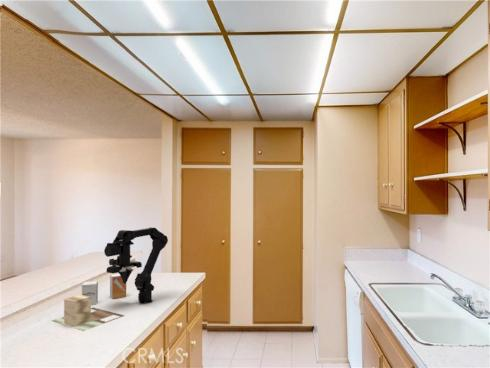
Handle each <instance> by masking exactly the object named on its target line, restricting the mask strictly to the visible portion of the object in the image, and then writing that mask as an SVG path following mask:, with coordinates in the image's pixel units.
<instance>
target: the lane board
mask: <svg viewBox="0 0 490 368" xmlns="http://www.w3.org/2000/svg"><path fill="white" fill-rule="evenodd" d="M91 310H93V311H91V321H89V322H86V323H83V324H80V325H77V326H72V325H68V324H65V323H64V316H62V317H59V318H55V319H53V320H51V322H52V323H53V322H54V323H57V324H60V325H61V326H62V325H63V326H66V327H69V328H73V329H76V330H78V331H81V332H85V331H87V330H91V329H93V328H95V327H99V326H102V325H103V324H107V323H108V322H112V321H114V320H118V319H120V318H123V317H125V316H126V314H121V313H117V312H112V311H108V310H105V309H101V308H96V307H91ZM112 316H116V317H115V318H112V319H109V320H107V321H105V320H104V319H106V318H109V317H112Z"/></svg>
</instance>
